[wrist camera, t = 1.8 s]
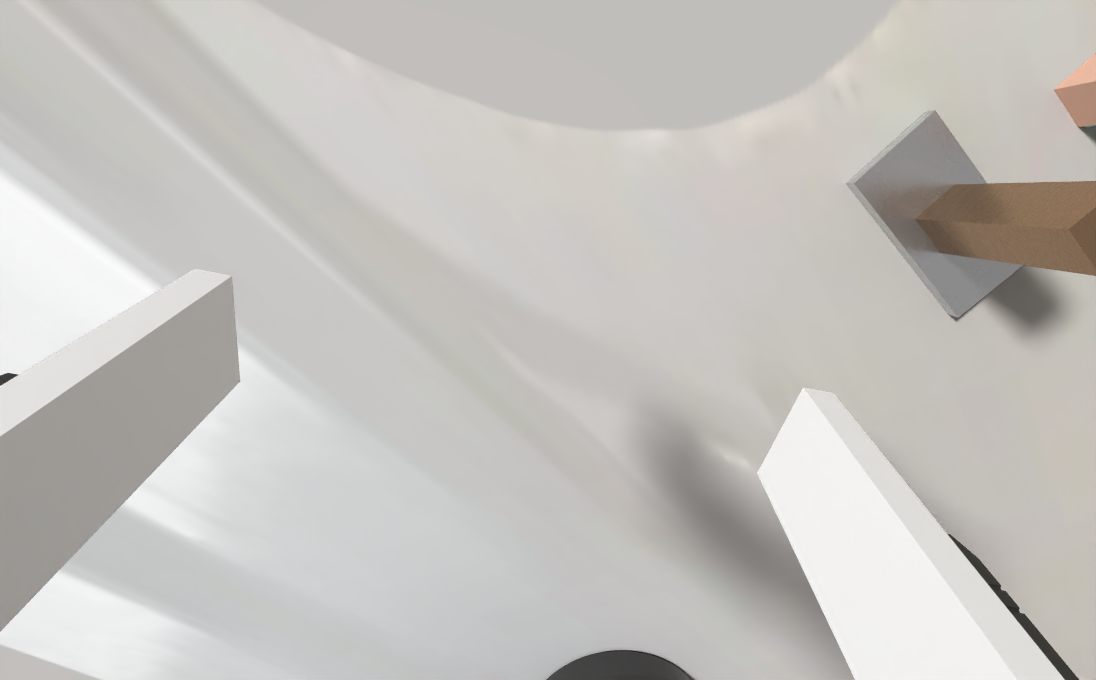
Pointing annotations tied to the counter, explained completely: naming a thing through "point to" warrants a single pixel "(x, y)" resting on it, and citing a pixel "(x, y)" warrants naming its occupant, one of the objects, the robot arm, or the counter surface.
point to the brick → (1080, 94)
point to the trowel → (971, 217)
